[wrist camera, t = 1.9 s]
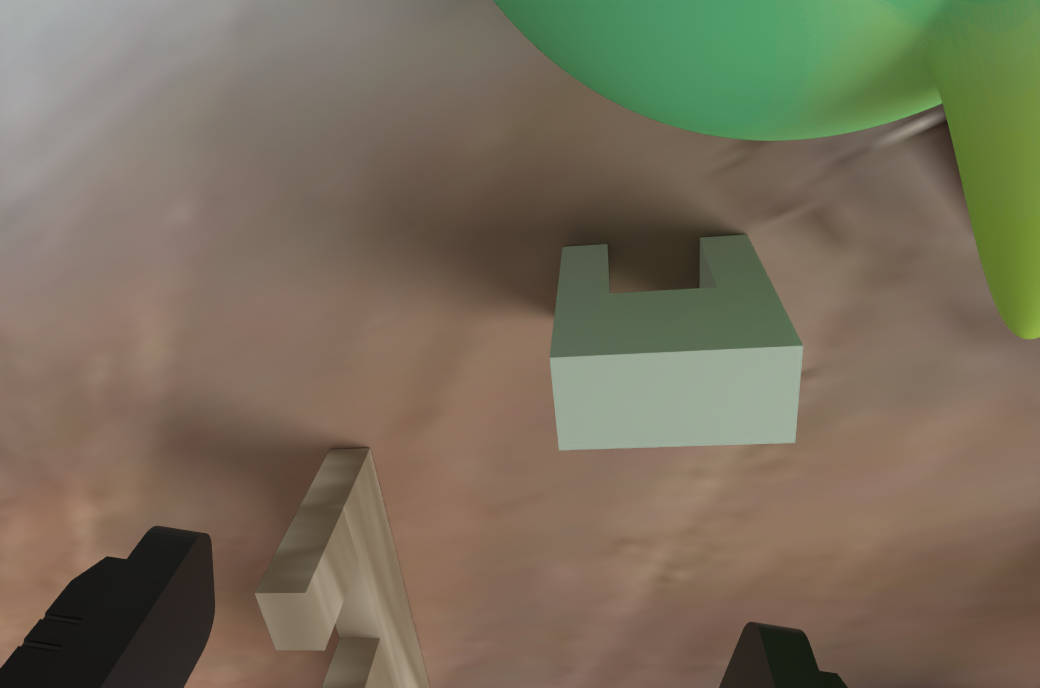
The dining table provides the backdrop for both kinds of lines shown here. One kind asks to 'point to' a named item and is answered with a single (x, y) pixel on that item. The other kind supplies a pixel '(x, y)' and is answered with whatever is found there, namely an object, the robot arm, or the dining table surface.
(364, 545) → the maple board
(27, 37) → the dining table surface
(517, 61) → the dining table surface
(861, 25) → the toy bird
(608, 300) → the notched block
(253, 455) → the dining table surface
